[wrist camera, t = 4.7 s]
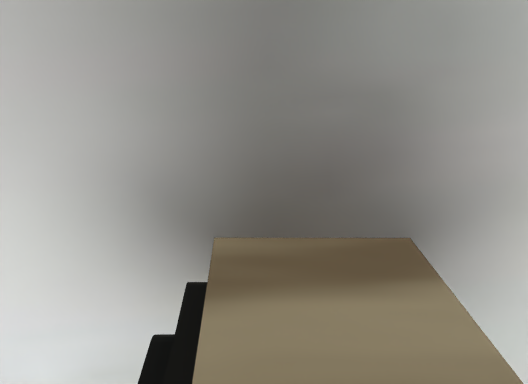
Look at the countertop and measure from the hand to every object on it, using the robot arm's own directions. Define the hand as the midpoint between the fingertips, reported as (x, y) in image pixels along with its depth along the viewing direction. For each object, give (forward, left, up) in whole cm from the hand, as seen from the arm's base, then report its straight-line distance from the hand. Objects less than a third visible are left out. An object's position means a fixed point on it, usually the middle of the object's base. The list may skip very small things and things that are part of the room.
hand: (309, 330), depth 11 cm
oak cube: (0, 0, -1) cm, 1 cm away
